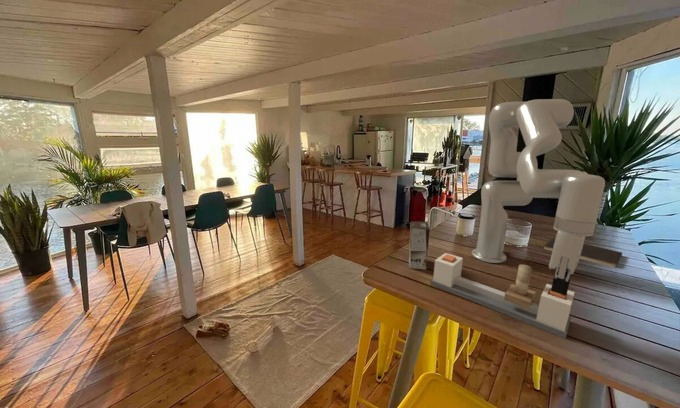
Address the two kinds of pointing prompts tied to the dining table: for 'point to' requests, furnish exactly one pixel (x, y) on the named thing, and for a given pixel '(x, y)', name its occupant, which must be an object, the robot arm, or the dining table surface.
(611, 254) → the hardcover book
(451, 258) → the block
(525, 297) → the carriage
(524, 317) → the rail base
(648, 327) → the dining table surface
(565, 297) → the block
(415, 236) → the coffee box
